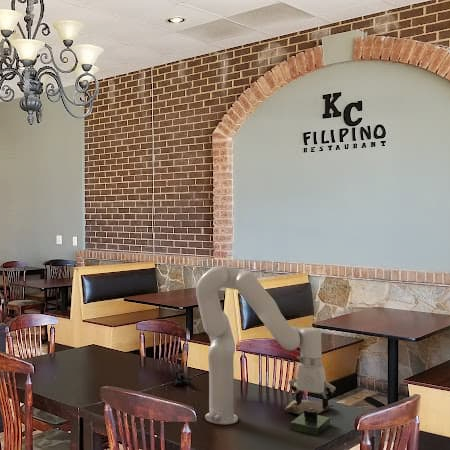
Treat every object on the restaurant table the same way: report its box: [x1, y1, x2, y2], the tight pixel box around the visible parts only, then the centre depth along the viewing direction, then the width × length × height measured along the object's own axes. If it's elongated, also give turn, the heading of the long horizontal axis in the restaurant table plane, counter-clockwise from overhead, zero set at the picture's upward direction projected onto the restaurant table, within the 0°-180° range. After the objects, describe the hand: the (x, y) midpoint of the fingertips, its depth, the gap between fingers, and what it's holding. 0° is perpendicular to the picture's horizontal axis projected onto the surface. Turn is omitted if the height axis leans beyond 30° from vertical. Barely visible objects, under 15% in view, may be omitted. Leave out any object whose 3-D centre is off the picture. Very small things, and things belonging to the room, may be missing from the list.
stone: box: [284, 399, 335, 416], centre depth 252 cm, size 21×6×10 cm
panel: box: [290, 413, 331, 437], centre depth 233 cm, size 14×10×3 cm
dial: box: [304, 408, 318, 422], centre depth 233 cm, size 5×5×4 cm
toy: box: [172, 368, 192, 387], centre depth 293 cm, size 6×8×15 cm
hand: (311, 406), depth 233 cm, fingers open, 9 cm apart
